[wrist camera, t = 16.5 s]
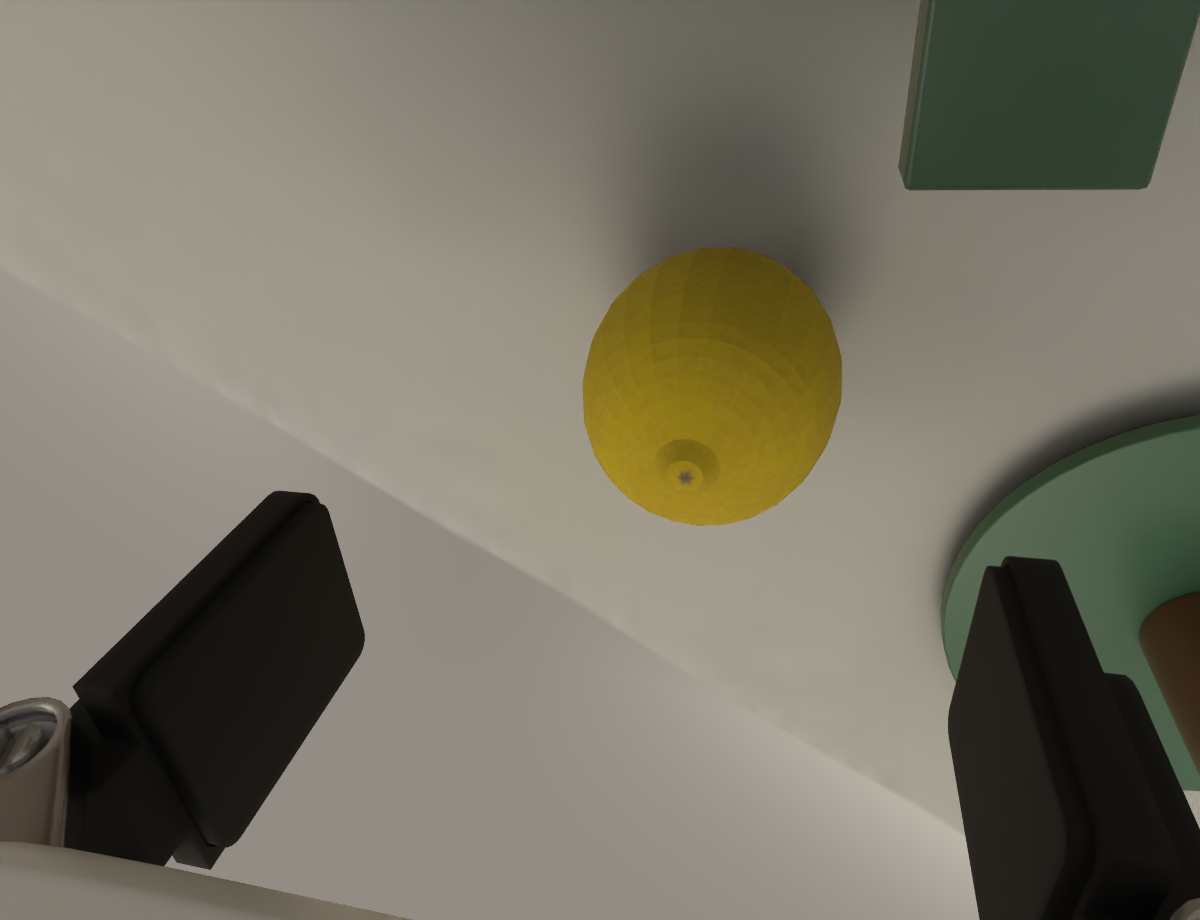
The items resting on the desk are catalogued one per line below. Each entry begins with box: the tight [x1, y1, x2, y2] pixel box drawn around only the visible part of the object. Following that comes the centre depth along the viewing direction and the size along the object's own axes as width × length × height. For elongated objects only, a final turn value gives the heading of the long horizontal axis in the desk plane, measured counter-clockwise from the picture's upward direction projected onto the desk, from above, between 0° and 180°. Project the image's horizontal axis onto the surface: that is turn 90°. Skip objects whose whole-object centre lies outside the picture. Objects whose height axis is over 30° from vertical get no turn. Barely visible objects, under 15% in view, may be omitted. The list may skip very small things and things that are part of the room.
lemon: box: [583, 248, 842, 525], centre depth 17 cm, size 6×6×8 cm
